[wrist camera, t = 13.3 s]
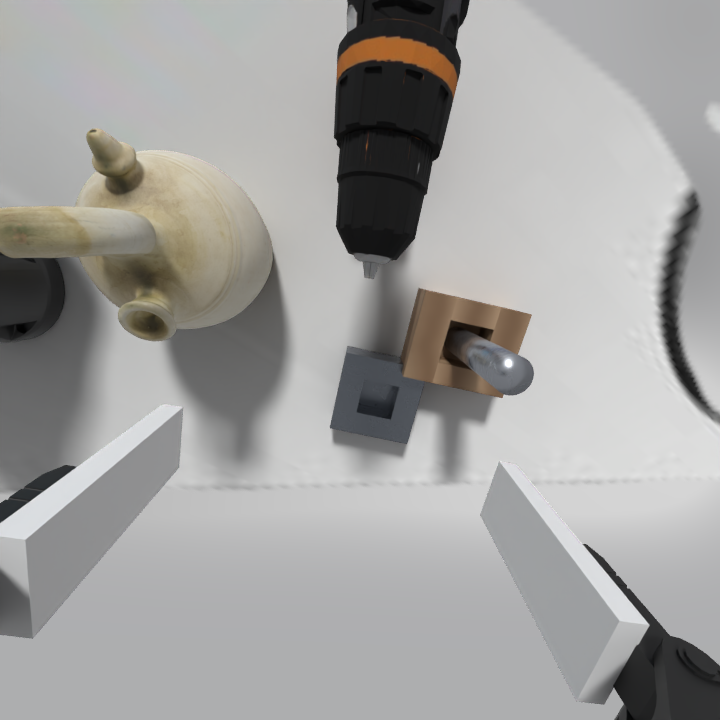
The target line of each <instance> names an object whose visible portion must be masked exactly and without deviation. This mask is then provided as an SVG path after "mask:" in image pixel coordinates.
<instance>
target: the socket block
mask: <svg viewBox="0 0 720 720" xmlns="http://www.w3.org/2000/svg"><path fill="white" fill-rule="evenodd" d="M403 366H404V364H403V362H402V360H401V358H400V357H395V356H391V355H386V354H381V353H377V352H372V351H368V350H363V349H358V348H354V347H349V346H347V351H346V355H345V360H344V365H343V369H342V374H341V378H340V383H339V388H338V392H337V397H336V401H335V406H334V411H333V415H332V420H331V425H330V428H332V429H337V430H342V431H347V432H351V433H356V434H361V435H366V436H371V437H376V438H381V439H385V440H390V441H395V442H400V443H405V444H407V442H408V439H409V435H410V432H411V428H412V425H413V421H414V418H415V414H416V411H417V407H418V404H419V400H420V397H421V393H422V390H423V386H424V383H425V381H421V380H416V379H412V378H407V377H403V375H402V370H403Z"/></svg>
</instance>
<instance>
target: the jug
mask: <svg viewBox="0 0 720 720" xmlns="http://www.w3.org/2000/svg"><path fill="white" fill-rule="evenodd" d="M86 138H87V142H88V145H89V147H90V149H91V151H92V153H93V158H92V164H93V167H94V168H95V170H96V172H95V173H94V174H93V175H92V176H91V177H90V178H89V179H88V181H87V182H86V183H85V185H84V187H83V188H82V190H81V192H80V194H79V196H78V199H77V202H76V205H75V207H69V206H34V207H7V208H0V252H1V253H2V254H4V255H6V256H8V257H11V258H65V257H79V258H80V261H81V263H82V265H83V267H84V269H85V271H86V272H87V274H88V275H89V277H90V278H91V280H92V281H93V282H94V284H95V285H96V286H97V287H98V289H99V290H100V291H101V292H102V293H103V294H104V295H105V296H106V297H107V298H108V299H109V300H110V301H111V302H112V303H114V304H115V305H116V306H118V307H119V308H120V309H119V312H118V319H119V322H120V324H121V325H122V327H123V328H124V329H125V330H126V331H128V332H129V333H131V334H133V335H134V336H136V337H138V338H141V339H144V340H149V341H163V340H167V339H169V338H171V337H172V336H173V335H174V334H175V332H176V329H197V328H203V327H209V326H213V325H216V324H219V323H222V322H225V321H227V320H229V319H231V318H233V317H235V316H236V315H238V314H239V313H240V312H242V311H243V310H244V309H245V308H246V307H247V306H249V305H250V304H251V303H252V302H253V300H254V299H255V298H256V297H257V296H258V294H259V293H260V291H261V290H262V288H263V286H264V285H265V283H266V281H267V279H268V277H269V274H270V271H271V267H272V260H273V250H272V243H271V239H270V236H269V233H268V230H267V228H266V226H265V224H264V222H263V220H262V218H261V216H260V214H259V212H258V210H257V208H256V207H255V205H254V204H253V202H252V201H251V199H250V198H249V197H248V195H247V194H246V193H245V191H244V190H243V189H242V188H241V187H240V186H239V185H238V184H237V183H236V182H235V181H234V180H233V179H232V178H230V177H229V176H228V175H227V174H225V173H224V172H223V171H221V170H220V169H218V168H217V167H215V166H213V165H211V164H209V163H207V162H205V161H203V160H201V159H198V158H196V157H193V156H190V155H187V154H183V153H179V152H173V151H165V150H146V151H139V152H135V150H134V149H133V148H132V147H131V146H130V145H128V144H126V143H124V142H118V141H117V140H116V139H114V138H113V137H112V136H110V135H109V134H107V133H106V132H104V131H103V130H101V129H92V130H90V131H89V132H88V133H87V137H86Z"/></svg>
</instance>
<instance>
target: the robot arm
mask: <svg viewBox="0 0 720 720" xmlns="http://www.w3.org/2000/svg"><path fill="white" fill-rule="evenodd" d="M63 302H64V283H63V278H62V275H61V271H60V269H59V266H58V264H57V262H56V260H55V258H11V257H8V256H6V255H4V254H2V253H1V252H0V343H7V342H14V341H19V340H24V339H29V338H33V337H36V336H38V335H40V334H42V333H44V332H46V331H47V330H48V329H49V328H50V327H51V326H52V325H53V324H54V323H55V322H56V320H57V319H58V317H59V315H60V313H61V310H62V307H63ZM182 417H183V407H179V406H173V405H168V404H162V405H161V406H159V407H158V408H157V409H155V410H154V411H153V412H151V413H150V414H149V415H147V416H146V417H144V418H143V419H142V420H140V421H139V422H138V423H136V424H135V425H134V426H132V427H131V428H129V429H128V430H127V431H125V432H124V433H123V434H121V435H120V436H119V437H117V438H116V439H114V440H113V441H112V442H110V443H109V444H108V445H106V446H105V447H104V448H102V449H101V450H99V451H98V452H97V453H95V454H94V455H93V456H91V457H90V458H89V459H87V460H86V461H84V462H83V463H82V464H80V465H79V466H78V467H74V466H68V465H65V466H62V467H60V468H57V469H55V470H52V471H50V472H47V473H45V474H43V475H41V476H40V477H38V478H37V479H35V480H34V481H32V482H31V483H29V484H28V485H26V486H25V488H24V489H21V490H19V491H18V492H16V493H15V494H13V495H12V496H10V497H9V499H8V500H4V501H3V502H1V503H0V635H7V636H16V637H25V638H34V636H35V635H36V634H37V633H38V632H39V631H40V630H41V628H42V627H43V626H44V625H45V624H46V622H47V621H48V620H49V619H50V618H51V617H52V616H53V614H54V613H55V612H56V611H57V610H58V608H59V607H60V606H61V605H62V604H63V602H64V601H65V600H66V599H67V598H68V597H69V596H70V594H71V593H72V592H73V591H74V590H75V589H76V587H77V586H78V585H79V584H80V582H81V581H82V580H83V579H84V578H85V577H86V576H87V575H88V573H89V572H90V571H91V570H92V569H93V568H94V566H95V565H96V564H97V563H98V561H100V559H101V558H102V557H103V556H104V555H105V554H106V552H107V551H108V550H109V549H110V548H111V546H112V545H113V544H114V543H115V542H116V541H117V539H118V538H119V537H120V536H121V535H122V534H123V532H124V531H125V530H126V529H127V528H128V526H129V525H130V524H131V523H132V522H133V521H134V519H135V518H136V517H137V516H138V515H139V513H141V511H142V510H143V509H144V508H145V507H146V505H147V504H148V503H149V502H150V501H151V500H152V499H153V497H154V496H155V495H156V494H157V493H158V492H159V490H160V489H161V488H162V487H163V486H164V485H165V483H166V482H167V481H168V480H169V479H170V478H171V476H172V475H173V474H174V473H175V472H176V470H177V469H178V468H179V461H180V447H181V432H182ZM480 516H481V517H482V519H483V521H484V523H485V525H486V527H487V529H488V531H489V533H490V535H491V537H492V539H493V540H494V543H495V545H496V547H497V548H498V550H499V552H500V554H501V556H502V558H503V560H504V562H505V564H506V566H507V568H508V570H509V572H510V574H511V576H512V577H513V580H514V582H515V583H516V585H517V587H518V589H519V591H520V593H521V595H522V597H523V599H524V601H525V603H526V605H527V607H528V609H529V611H530V613H531V615H532V616H533V618H534V620H535V622H536V624H537V626H538V628H539V630H540V632H541V634H542V636H543V638H544V640H545V641H546V644H547V646H548V647H549V649H550V651H551V653H552V655H553V657H554V659H555V661H556V663H557V665H558V667H559V669H560V671H561V673H562V675H563V676H564V679H565V680H566V682H567V684H568V686H569V688H570V690H571V692H572V694H573V696H574V698H575V700H576V701H579V702H587V703H595V704H605V702H606V700H607V698H608V697H609V695H610V693H611V692H612V690H613V688H615V690H616V691H617V693H618V695H619V696H620V698H621V699H622V701H623V703H624V705H623V707H622V708H621V710H620V712H619V713H618V715H617V717H616V718H615V720H720V666H719V665H718V664H717V663H716V662H715V661H714V660H713V659H711V658H710V657H709V656H708V655H707V654H706V653H704V652H703V651H701V650H700V649H698V648H697V647H695V646H694V645H692V644H690V643H688V642H686V641H684V640H682V639H680V638H676V637H672V636H670V635H669V634H668V633H667V632H666V631H665V629H663V627H662V626H661V625H660V624H659V622H658V621H657V620H656V619H655V618H654V617H653V615H652V614H651V613H650V612H649V611H648V610H647V608H646V607H645V606H644V605H643V604H642V603H641V602H640V600H639V599H638V598H637V597H636V596H635V595H634V593H633V592H632V591H631V590H630V589H627V585H626V584H625V583H624V582H623V581H622V579H621V578H620V577H619V576H616V572H615V571H614V570H613V569H612V568H611V567H610V566H609V564H608V563H607V562H606V561H605V560H604V558H603V557H601V556H600V555H599V554H598V553H596V552H595V551H594V550H593V549H591V548H590V547H589V546H588V545H586V544H582V543H581V542H580V541H579V539H578V538H577V537H576V536H575V534H573V532H572V531H571V530H570V528H569V527H568V526H567V525H566V524H565V522H564V521H563V520H562V519H561V518H560V516H559V515H558V514H557V513H556V511H555V510H554V509H553V508H552V507H551V505H550V504H549V503H548V502H547V501H546V499H544V497H543V496H542V495H541V493H540V492H539V491H538V490H537V489H536V487H535V486H534V485H533V484H532V483H531V481H530V480H529V479H528V478H527V476H526V475H525V474H524V473H523V472H522V470H521V469H520V468H519V467H518V466H517V464H512V463H507V462H501V461H499V463H498V466H497V469H496V472H495V475H494V477H493V480H492V483H491V486H490V489H489V492H488V494H487V497H486V500H485V503H484V506H483V509H482V511H481V514H480Z"/></svg>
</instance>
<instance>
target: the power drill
mask: <svg viewBox="0 0 720 720" xmlns="http://www.w3.org/2000/svg"><path fill="white" fill-rule="evenodd" d="M347 1H348V9H347V34H346V36H345V37H344V38H343V40H342V41H341V43H340V44H339V49H338V57H337V85H336V102H335V127H334V138H335V139H336V140H337V146H338V147H339V148H340V154H339V167H338V175H337V182H338V183H339V188H338V205H337V220H336V227H337V230H338V232H339V235H340V237H341V239H342V241H343V243H344V245H345V247H346V249H347V251H348V253H349V254H353V255H354V256H355V259H357V260H359V261H363V267H364V277H365V278H371V279H374V276H375V274H376V272H377V269H378V267H379V264H385V263H388V262H389V261H390V260H397V258H398V257H399V256H400V255H401V254H402V253H403V252H404V250H405V249H406V248H407V247H408V246H409V245H410V244H411V242H412V241H413V240H414V239H415V236H416V231H417V226H418V221H419V217H420V212H421V208H422V203H423V199H424V195H425V194H427V189H428V183H429V178H430V172H431V166H432V161H434V160H436V159H437V158H438V157H439V154H440V150H441V148H442V144H443V140H444V136H445V132H446V128H447V124H448V119H449V115H450V111H451V107H452V103H453V99H454V94H455V90H456V86H457V82H458V78H459V74H460V66H461V60H460V57H459V54H458V52H457V49H456V41H457V35H458V29H459V27H460V26H461V25H462V24H463V21H464V19H465V17H466V15H467V11H468V6H469V1H470V0H347Z"/></svg>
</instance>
